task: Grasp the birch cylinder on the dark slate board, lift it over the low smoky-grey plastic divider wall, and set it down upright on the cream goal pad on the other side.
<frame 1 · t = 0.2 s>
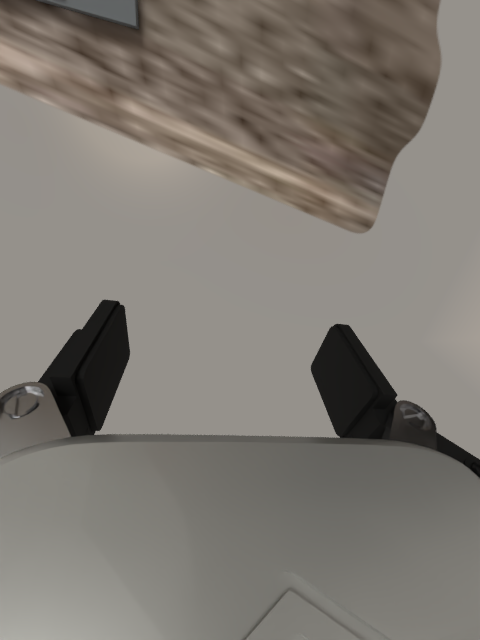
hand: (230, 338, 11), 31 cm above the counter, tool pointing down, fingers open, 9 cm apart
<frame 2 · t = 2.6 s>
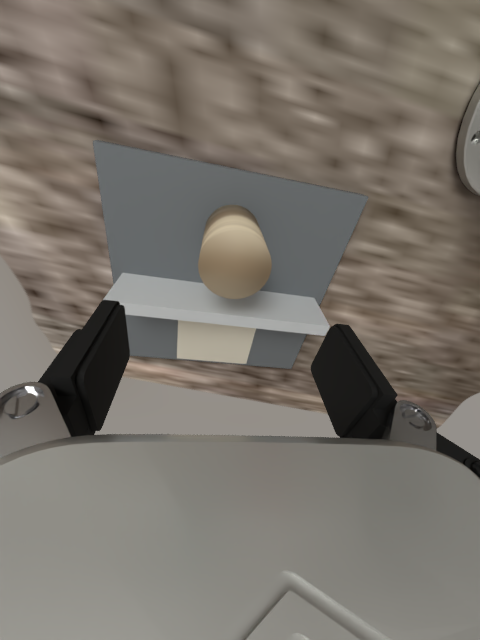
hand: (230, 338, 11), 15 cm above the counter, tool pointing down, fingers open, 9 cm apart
birch cylinder: (232, 234, 22), point 1 cm above the counter, touching fence board
fence board: (223, 286, 27), on the counter
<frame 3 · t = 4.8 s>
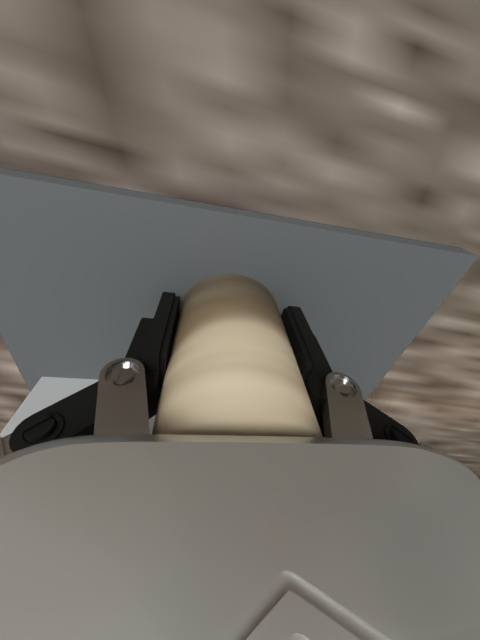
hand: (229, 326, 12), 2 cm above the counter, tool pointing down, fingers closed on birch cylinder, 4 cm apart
birch cylinder: (228, 318, 12), point 1 cm above the counter, touching fence board, gripper
fence board: (215, 379, 17), on the counter
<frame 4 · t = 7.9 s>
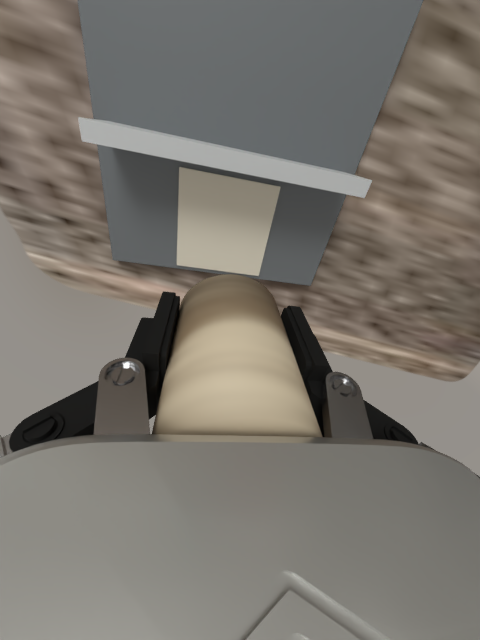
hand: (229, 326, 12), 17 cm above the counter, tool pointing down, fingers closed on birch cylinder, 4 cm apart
birch cylinder: (228, 318, 12), point 16 cm above the counter, touching gripper
fence board: (233, 156, 22), on the counter
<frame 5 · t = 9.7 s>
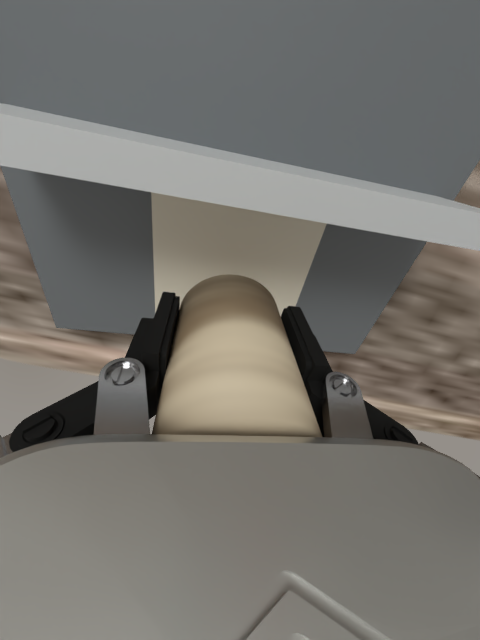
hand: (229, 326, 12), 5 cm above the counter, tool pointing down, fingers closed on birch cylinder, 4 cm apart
birch cylinder: (228, 319, 12), point 4 cm above the counter, touching gripper
fence board: (248, 169, 12), on the counter
when the fingers open (3 cm above the counter, at t = 11.0 s): birch cylinder drops 1 cm, resting on fence board.
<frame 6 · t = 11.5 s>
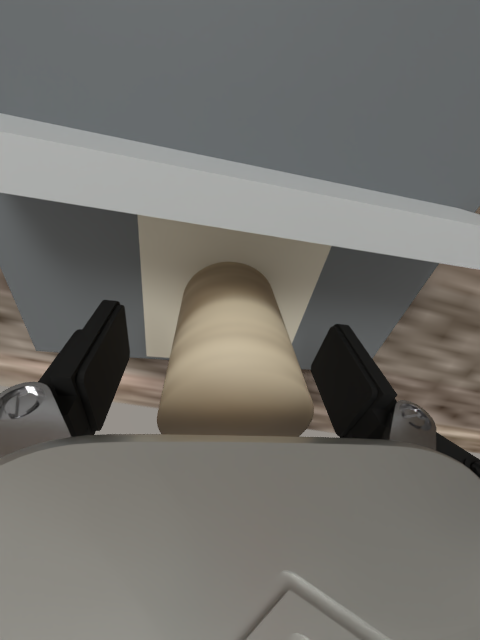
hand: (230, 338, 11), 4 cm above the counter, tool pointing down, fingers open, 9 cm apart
birch cylinder: (228, 304, 13), point 1 cm above the counter, touching fence board
fence board: (246, 178, 11), on the counter
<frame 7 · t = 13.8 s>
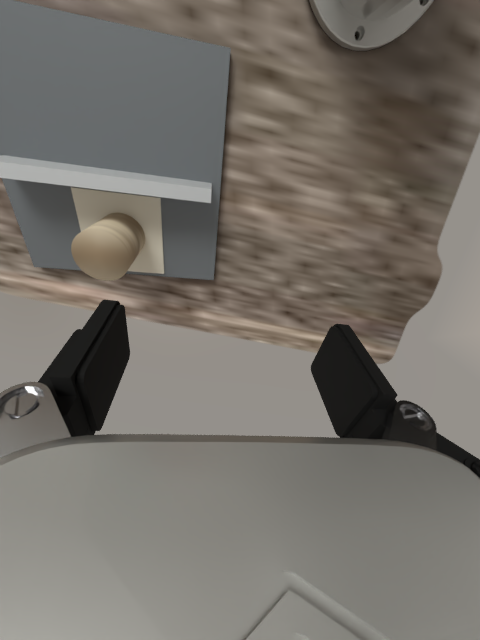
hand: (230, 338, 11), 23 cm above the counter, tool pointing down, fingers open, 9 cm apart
birch cylinder: (122, 235, 29), point 1 cm above the counter, touching fence board
fence board: (118, 175, 26), on the counter
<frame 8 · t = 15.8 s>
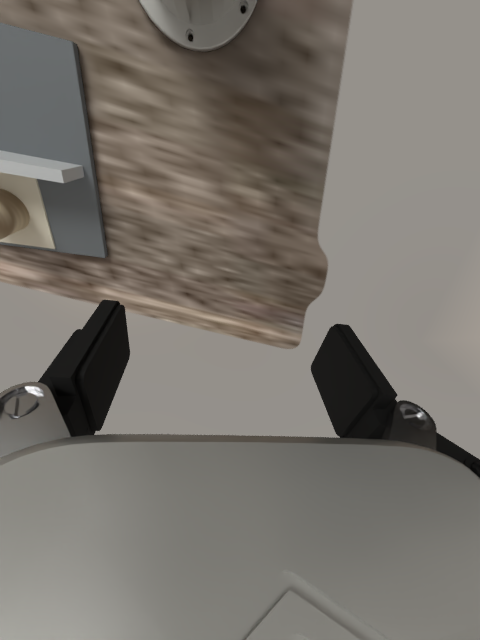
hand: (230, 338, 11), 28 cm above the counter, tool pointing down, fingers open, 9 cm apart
birch cylinder: (6, 209, 31), point 1 cm above the counter, touching fence board
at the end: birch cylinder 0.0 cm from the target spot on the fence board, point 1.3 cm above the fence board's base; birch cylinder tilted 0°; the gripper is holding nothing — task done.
